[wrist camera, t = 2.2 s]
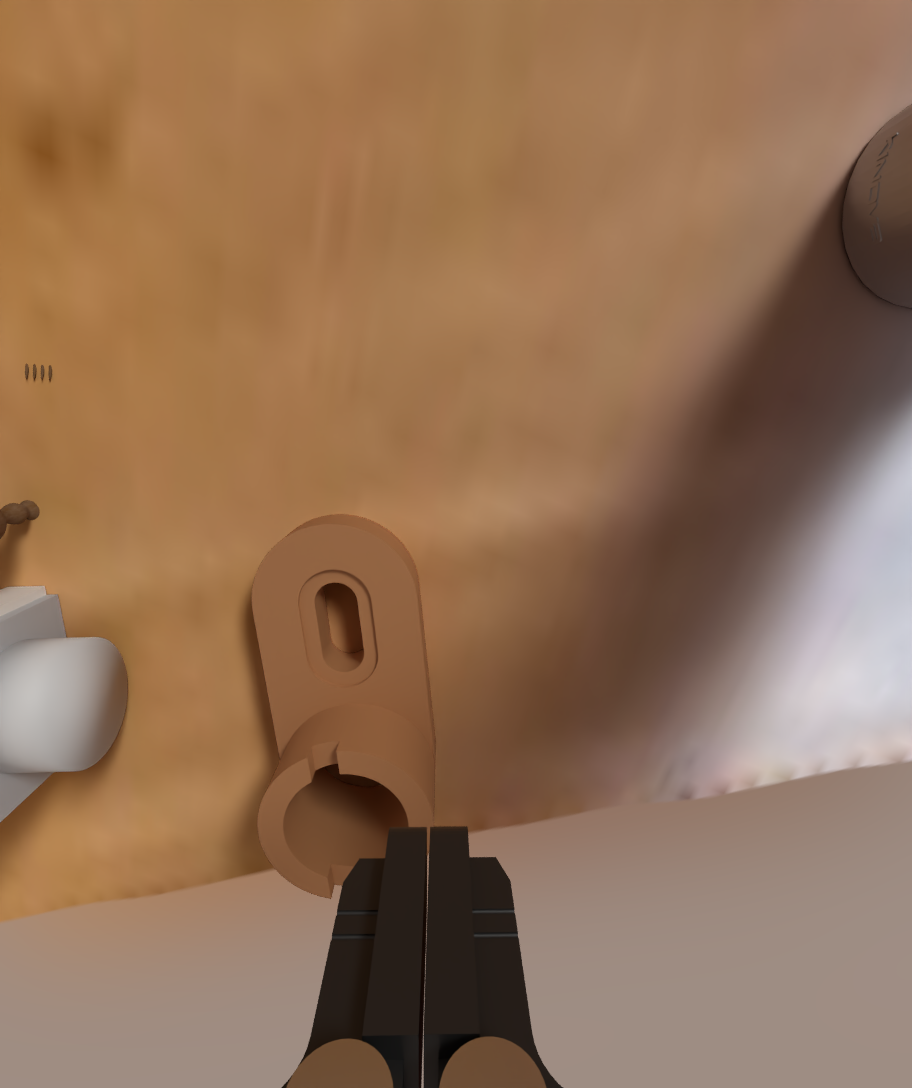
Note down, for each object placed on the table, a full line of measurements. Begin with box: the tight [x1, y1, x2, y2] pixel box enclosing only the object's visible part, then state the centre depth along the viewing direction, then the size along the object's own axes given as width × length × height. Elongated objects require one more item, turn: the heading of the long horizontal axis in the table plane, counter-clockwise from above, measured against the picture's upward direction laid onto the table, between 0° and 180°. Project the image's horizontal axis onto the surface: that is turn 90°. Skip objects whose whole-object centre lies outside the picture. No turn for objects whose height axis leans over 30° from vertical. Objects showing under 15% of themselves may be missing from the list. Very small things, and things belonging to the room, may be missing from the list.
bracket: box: [252, 514, 436, 899], centre depth 28 cm, size 18×8×7 cm, turn 5°
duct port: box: [0, 586, 128, 822], centre depth 26 cm, size 6×10×10 cm, turn 1°
